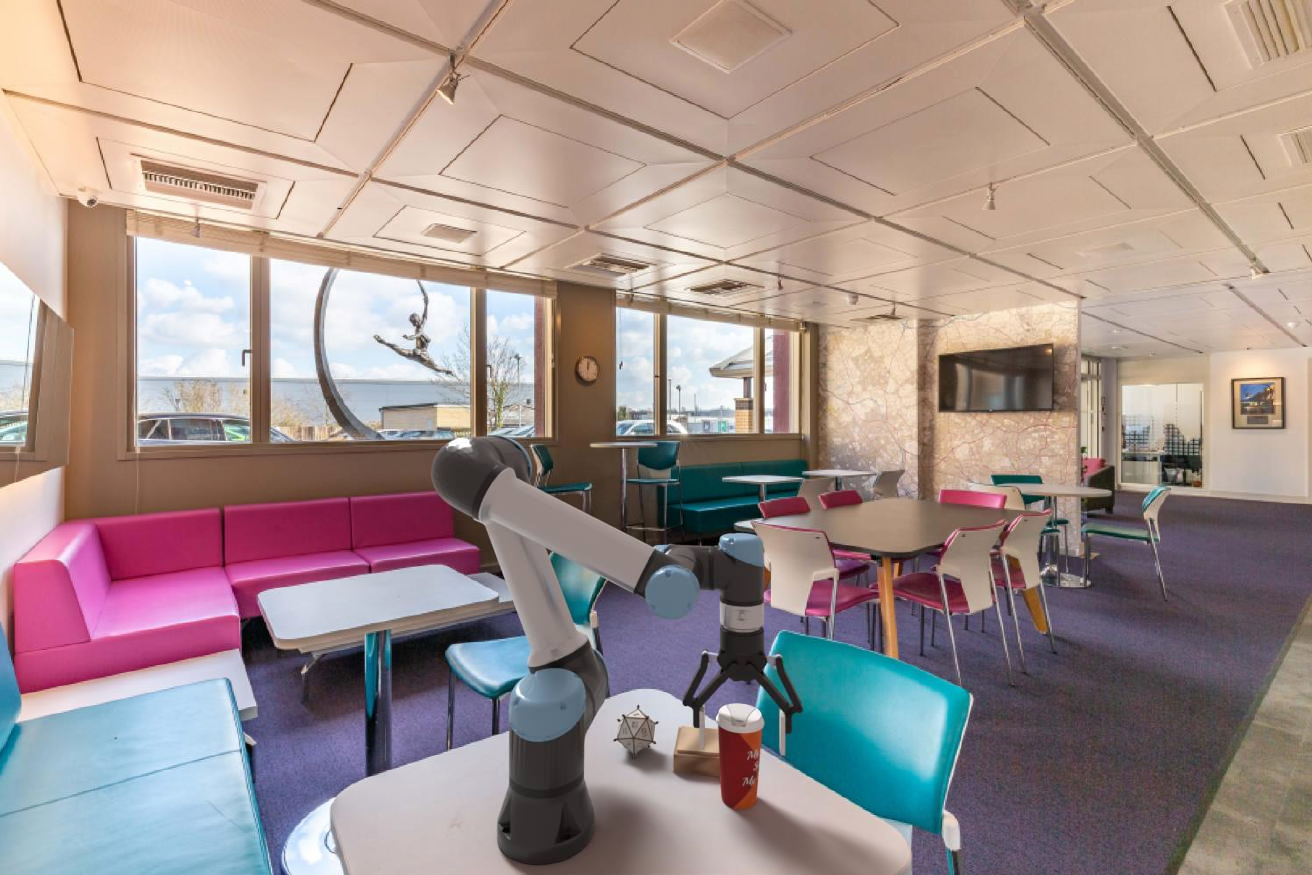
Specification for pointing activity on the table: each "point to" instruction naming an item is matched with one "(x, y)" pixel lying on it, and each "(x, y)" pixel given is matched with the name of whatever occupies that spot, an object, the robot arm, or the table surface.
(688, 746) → the plinth
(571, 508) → the robot arm
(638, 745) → the game die
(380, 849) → the table surface
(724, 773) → the coffee cup
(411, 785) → the table surface
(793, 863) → the table surface
